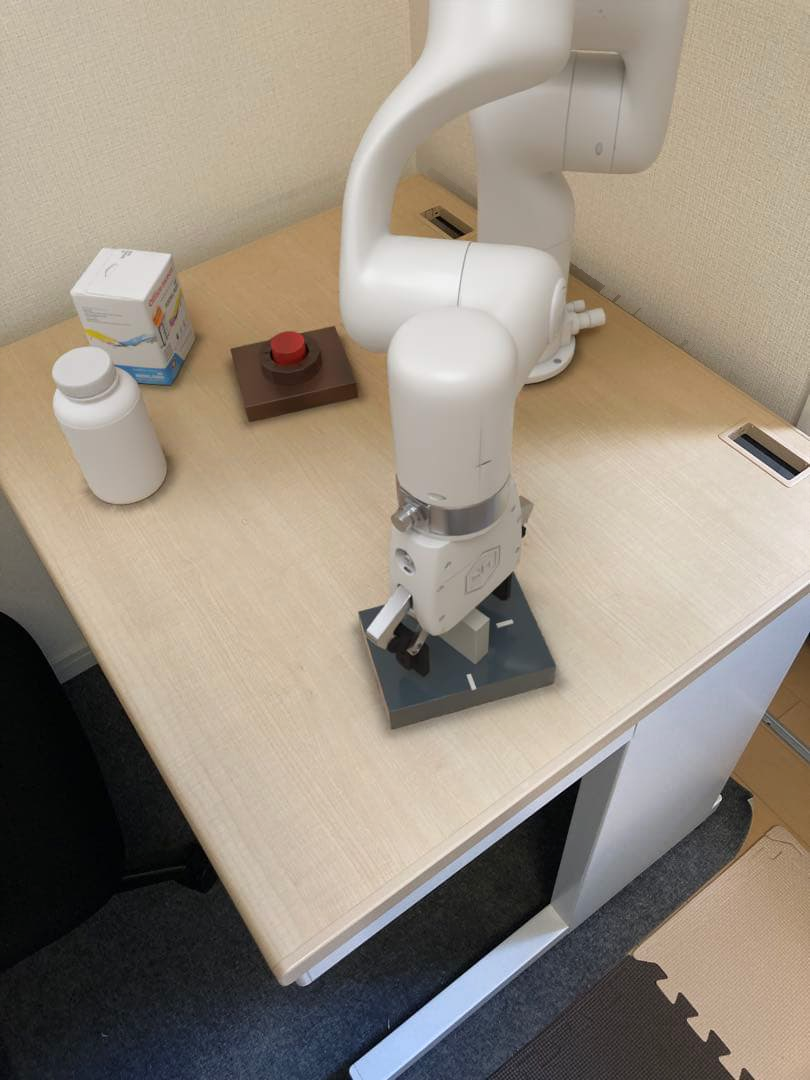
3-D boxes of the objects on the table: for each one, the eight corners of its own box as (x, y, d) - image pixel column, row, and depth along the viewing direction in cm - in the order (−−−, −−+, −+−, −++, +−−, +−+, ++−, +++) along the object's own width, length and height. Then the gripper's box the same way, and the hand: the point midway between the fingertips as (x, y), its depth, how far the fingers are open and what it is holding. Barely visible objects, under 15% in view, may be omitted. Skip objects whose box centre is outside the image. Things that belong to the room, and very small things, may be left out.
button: (302, 340, 99) (300, 328, 98) (309, 361, 97) (307, 348, 95) (270, 348, 98) (267, 335, 97) (276, 369, 96) (273, 356, 95)
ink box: (172, 387, 101) (143, 300, 91) (101, 380, 102) (65, 293, 93) (198, 337, 106) (173, 250, 97) (130, 331, 107) (99, 244, 98)
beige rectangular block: (488, 652, 74) (489, 616, 70) (475, 665, 73) (476, 629, 69) (434, 611, 77) (433, 574, 73) (421, 622, 76) (419, 586, 72)
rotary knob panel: (511, 589, 82) (513, 568, 79) (553, 685, 75) (557, 665, 73) (360, 629, 80) (357, 609, 77) (391, 731, 74) (389, 712, 71)
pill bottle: (99, 518, 89) (44, 405, 77) (83, 464, 94) (29, 350, 82) (177, 491, 91) (135, 377, 79) (158, 439, 96) (116, 325, 84)
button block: (336, 340, 104) (333, 312, 101) (358, 397, 98) (354, 369, 95) (233, 363, 103) (226, 335, 100) (248, 422, 97) (241, 394, 93)
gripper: (402, 594, 55) (413, 726, 68) (578, 441, 62) (557, 587, 76) (318, 529, 58) (345, 667, 72) (494, 392, 66) (488, 540, 79)
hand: (454, 626), depth 74 cm, fingers open, 9 cm apart
